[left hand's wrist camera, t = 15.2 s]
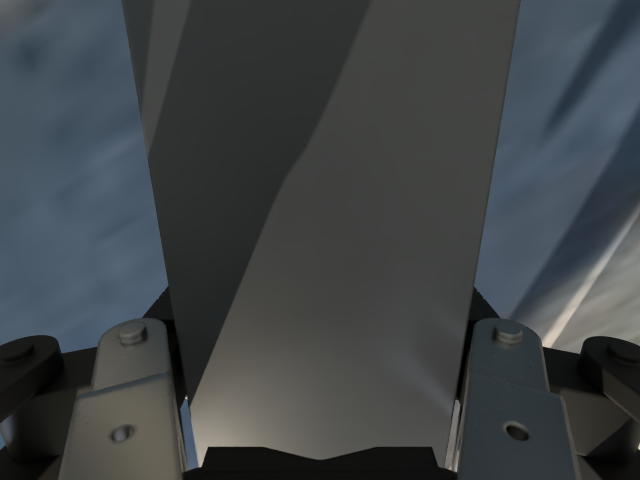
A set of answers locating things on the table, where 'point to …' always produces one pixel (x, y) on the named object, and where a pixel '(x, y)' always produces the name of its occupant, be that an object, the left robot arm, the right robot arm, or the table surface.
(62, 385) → the left robot arm
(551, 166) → the table surface
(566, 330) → the table surface
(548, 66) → the table surface
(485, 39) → the box
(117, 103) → the table surface
